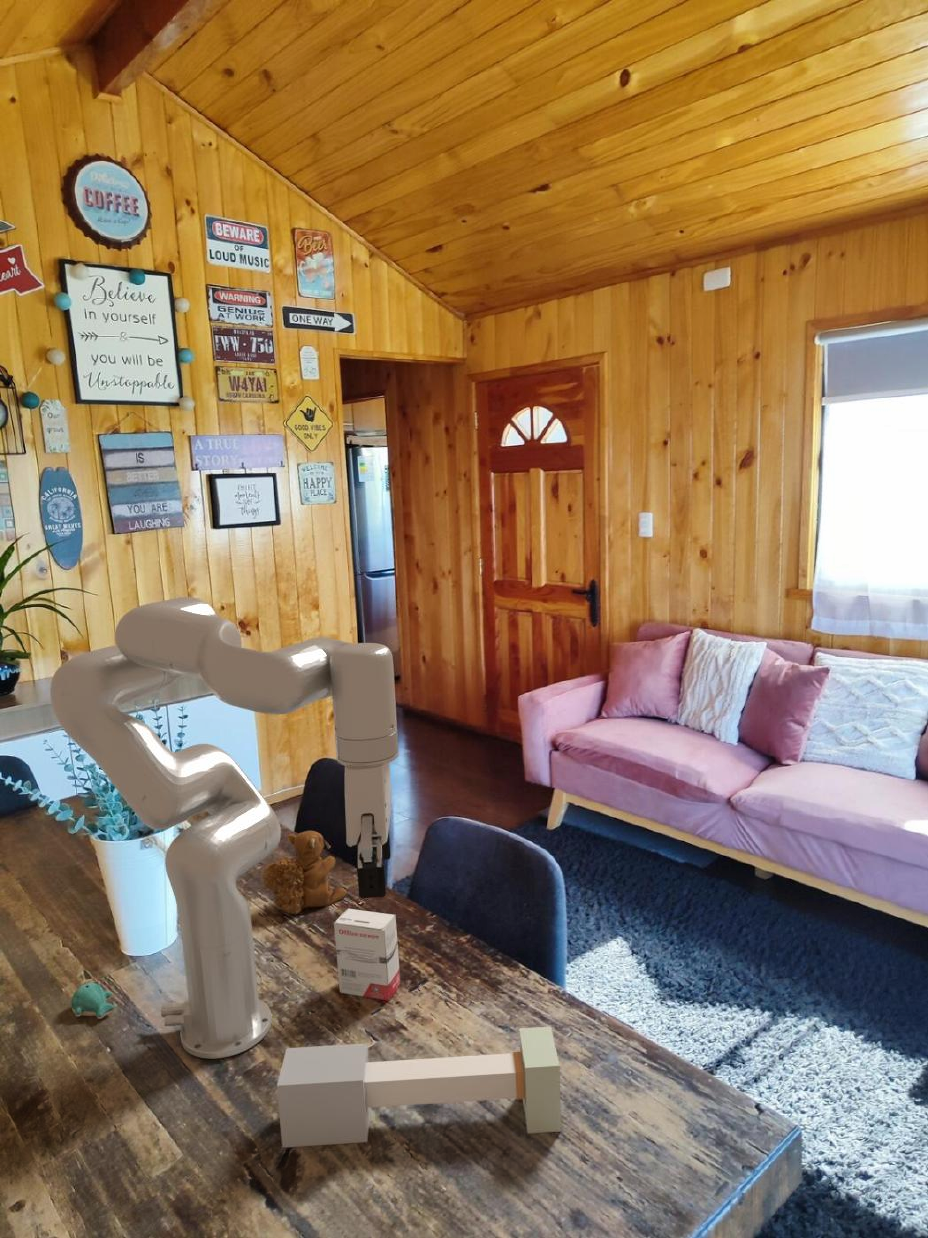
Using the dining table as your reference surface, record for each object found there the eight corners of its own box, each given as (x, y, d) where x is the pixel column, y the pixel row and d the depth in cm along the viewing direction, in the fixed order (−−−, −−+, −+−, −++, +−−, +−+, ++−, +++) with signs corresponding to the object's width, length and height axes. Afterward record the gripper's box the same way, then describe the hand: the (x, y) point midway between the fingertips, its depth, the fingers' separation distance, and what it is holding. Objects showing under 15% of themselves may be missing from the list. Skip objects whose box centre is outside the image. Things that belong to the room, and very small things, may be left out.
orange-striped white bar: (345, 1110, 98) (343, 1083, 97) (348, 1088, 101) (346, 1062, 101) (545, 1097, 99) (544, 1071, 98) (541, 1076, 102) (541, 1050, 101)
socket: (527, 1133, 97) (525, 1068, 96) (521, 1090, 104) (519, 1028, 103) (561, 1131, 97) (559, 1065, 96) (552, 1088, 104) (551, 1026, 103)
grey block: (282, 1147, 97) (276, 1086, 95) (291, 1107, 103) (286, 1048, 102) (367, 1142, 97) (362, 1080, 96) (371, 1102, 103) (367, 1043, 102)
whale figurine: (100, 994, 129) (97, 971, 128) (126, 1010, 124) (123, 987, 124) (63, 1013, 124) (60, 990, 124) (89, 1031, 120) (86, 1007, 119)
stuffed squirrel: (350, 895, 156) (346, 830, 154) (291, 928, 145) (285, 858, 143) (316, 881, 162) (311, 818, 160) (257, 911, 152) (251, 844, 149)
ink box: (402, 983, 128) (398, 913, 126) (389, 1002, 123) (384, 930, 121) (352, 974, 130) (347, 906, 129) (337, 993, 126) (332, 922, 124)
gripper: (343, 726, 108) (352, 848, 111) (326, 772, 91) (337, 915, 94) (400, 723, 108) (408, 845, 111) (394, 768, 91) (403, 911, 94)
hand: (375, 877), depth 102 cm, fingers open, 9 cm apart
